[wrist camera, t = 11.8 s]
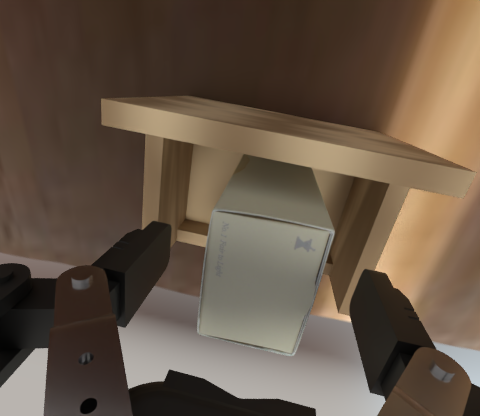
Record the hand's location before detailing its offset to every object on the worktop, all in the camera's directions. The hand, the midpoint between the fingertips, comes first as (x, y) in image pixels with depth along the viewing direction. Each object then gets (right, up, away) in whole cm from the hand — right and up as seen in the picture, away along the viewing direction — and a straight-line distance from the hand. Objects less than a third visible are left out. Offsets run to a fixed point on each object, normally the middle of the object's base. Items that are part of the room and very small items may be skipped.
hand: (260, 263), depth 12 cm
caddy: (+1, +4, +11) cm, 12 cm away
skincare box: (+1, +4, +10) cm, 11 cm away
